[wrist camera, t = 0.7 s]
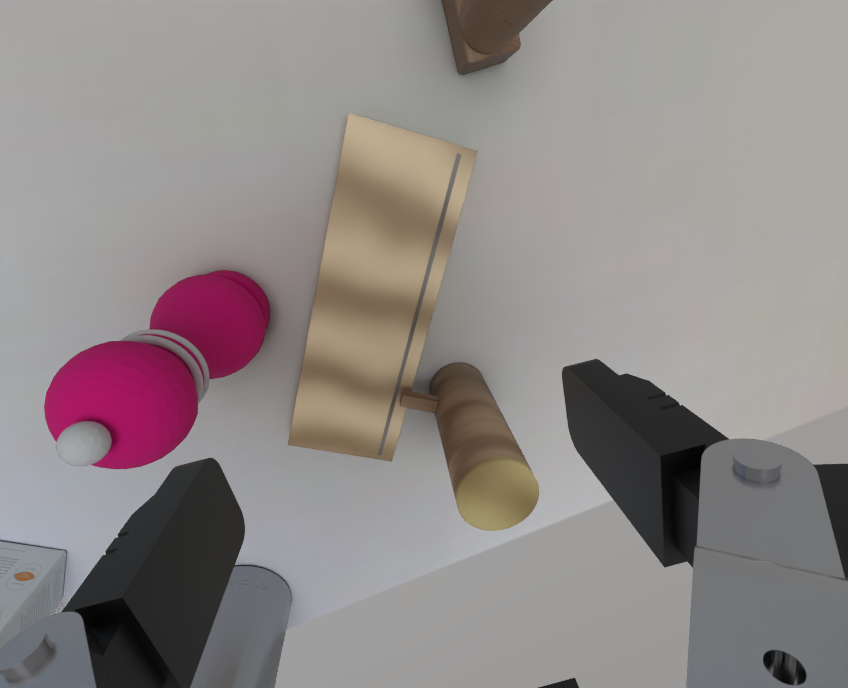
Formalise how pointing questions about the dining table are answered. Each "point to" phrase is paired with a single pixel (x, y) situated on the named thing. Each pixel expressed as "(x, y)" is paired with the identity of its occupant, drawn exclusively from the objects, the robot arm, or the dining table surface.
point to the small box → (28, 586)
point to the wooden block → (487, 29)
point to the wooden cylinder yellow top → (478, 449)
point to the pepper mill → (155, 373)
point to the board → (377, 285)
